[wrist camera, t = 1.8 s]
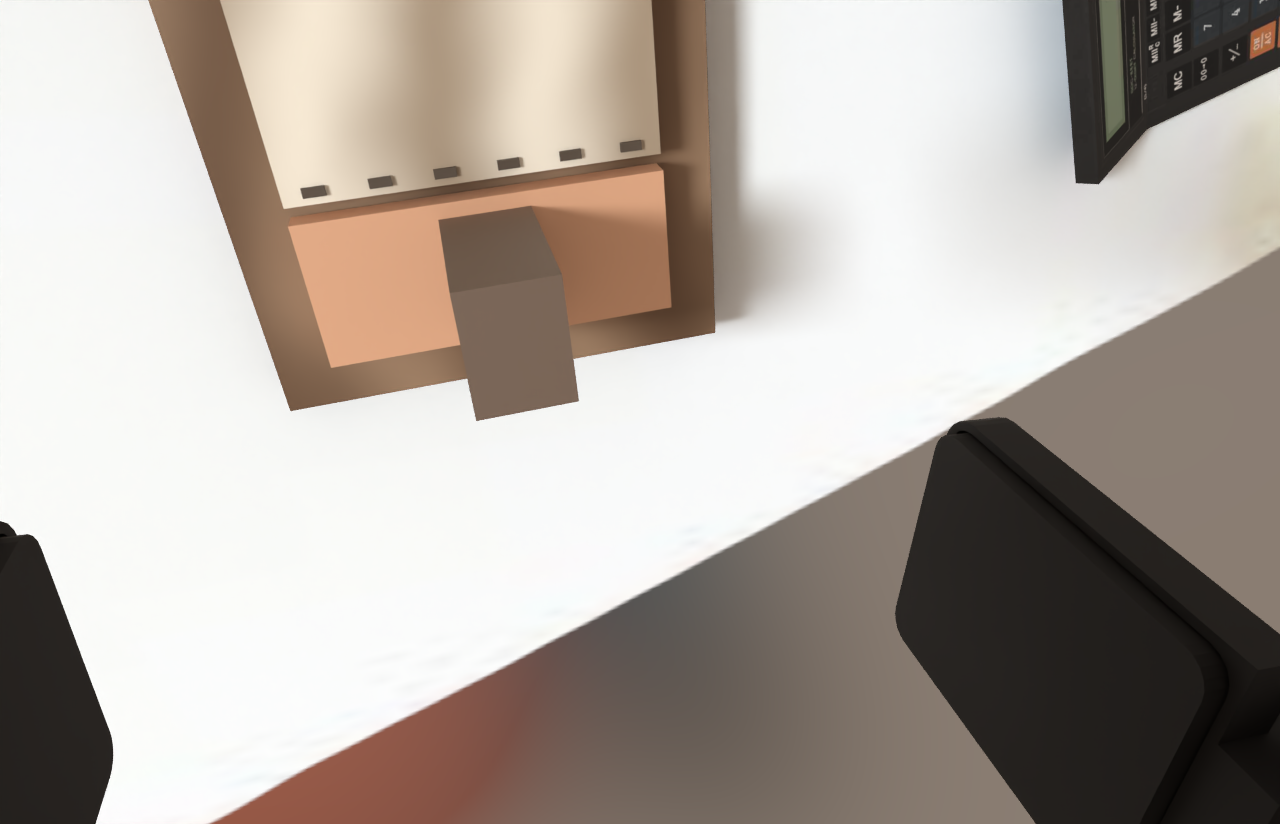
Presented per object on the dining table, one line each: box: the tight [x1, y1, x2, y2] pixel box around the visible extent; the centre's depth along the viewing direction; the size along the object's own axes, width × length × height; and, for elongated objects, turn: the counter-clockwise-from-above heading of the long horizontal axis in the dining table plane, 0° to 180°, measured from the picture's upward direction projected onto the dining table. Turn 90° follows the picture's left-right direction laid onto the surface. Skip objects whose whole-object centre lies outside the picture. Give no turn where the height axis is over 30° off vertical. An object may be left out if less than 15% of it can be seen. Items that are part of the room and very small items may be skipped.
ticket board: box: [148, 0, 715, 411], centre depth 28 cm, size 16×15×3 cm
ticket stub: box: [288, 163, 671, 421], centre depth 27 cm, size 12×5×7 cm, turn 95°
